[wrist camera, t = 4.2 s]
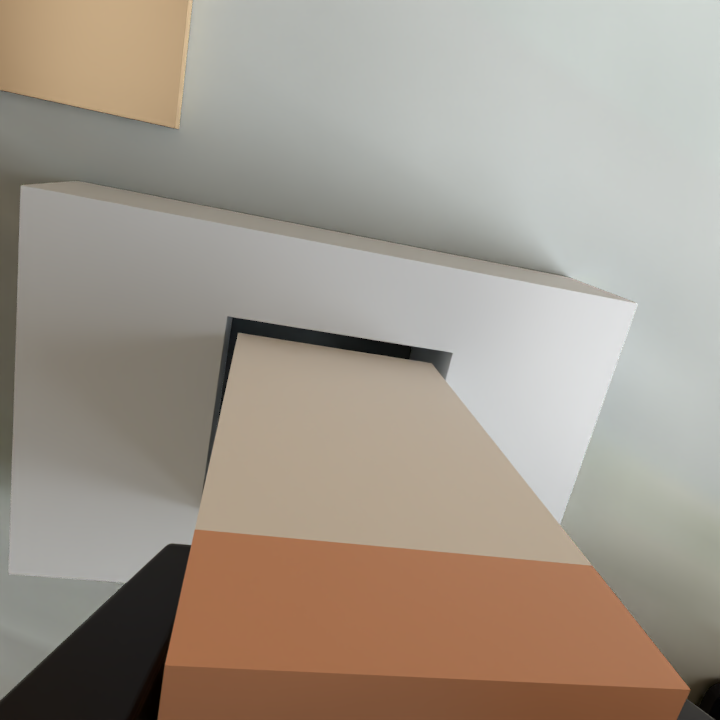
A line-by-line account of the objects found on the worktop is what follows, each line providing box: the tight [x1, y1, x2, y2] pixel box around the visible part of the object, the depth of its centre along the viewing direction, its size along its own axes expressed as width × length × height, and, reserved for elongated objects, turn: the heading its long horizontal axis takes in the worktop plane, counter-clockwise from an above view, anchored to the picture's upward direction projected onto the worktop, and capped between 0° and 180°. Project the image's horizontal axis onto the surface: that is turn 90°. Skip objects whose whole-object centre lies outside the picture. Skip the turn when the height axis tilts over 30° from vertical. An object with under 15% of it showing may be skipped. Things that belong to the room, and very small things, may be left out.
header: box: [8, 181, 638, 583], centre depth 14 cm, size 12×8×3 cm, turn 78°
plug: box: [157, 333, 691, 720], centre depth 8 cm, size 4×4×8 cm
